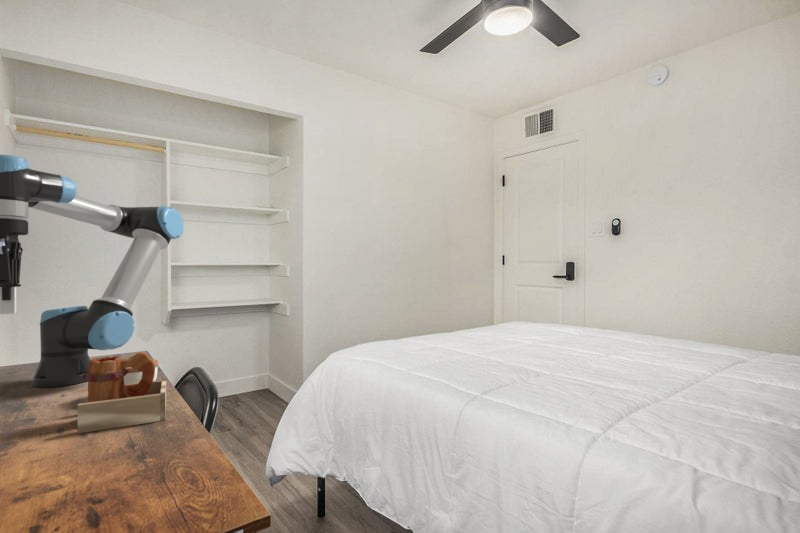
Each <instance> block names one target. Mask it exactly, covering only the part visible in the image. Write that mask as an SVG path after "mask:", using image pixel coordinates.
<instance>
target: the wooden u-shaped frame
mask: <svg viewBox="0 0 800 533" xmlns="http://www.w3.org/2000/svg"><path fill="white" fill-rule="evenodd" d="M138 383H139V382H138ZM138 383H130V384H125V385H130V386H134V385H137V384H138ZM125 396H127V397H128V398H120V399H113V400H105V401H97V402H89V403H88V402H82V403H78V404H77V434H83V433H90V432H95V431H96V432H97V431H103V430H109V429H117V428H122V427H128V426H135V425H141V424H142V425H143V424H150V423H156V422H161V421H165V420H166V411H167V379H158V380H157V379H156V381H153V382H152V385H151V387H150V388H149V389H148V391H147V392H146V393H145V394H144V395H143V396H136V397H133V396H131V395H128V394H126V393H125Z"/></svg>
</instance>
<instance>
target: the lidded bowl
mask: <svg viewBox="0 0 800 533" xmlns="http://www.w3.org/2000/svg"><path fill="white" fill-rule="evenodd" d="M132 356H133V355H130V356H129V357H128V358H131V357H132ZM151 359H152V360H153V362H154V365H155V375H154V379H153V381H156V380H157V378H158V372H159V371H158V366H159V361H158V359H155V358H151ZM126 369H127V370H128V371H129V372H128V373H127V374H126V375H125V376H124V384H130V383H138V382H140V380H141V378H142V371H139V370H137V369H134V368H132V367H128V368H126Z"/></svg>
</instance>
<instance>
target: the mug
mask: <svg viewBox="0 0 800 533" xmlns="http://www.w3.org/2000/svg"><path fill="white" fill-rule="evenodd" d="M131 356H132V357H131V358H129V357H128V358H123V359H122V357H120V356H118V355H117V356H112V357H110V356H106V357H101V358H99V357H98V358H92V359H90V361H89V371H88V372H87V373H86V374H84V375H83V377H82V378H83V379H86V382H88V384H87V403H89V402H97V401H105V400H113V399H120V398H128V397H127V396H125V393H126V394H128V395H131V396H133V397H136V396H143V395H144V394H145V393H146V392H147V391H148V389H149V388H150V387H151V385H152V382H153V379H154V375H155V365H154V362H153V360H152V359H153V358H152V357H151V356H149V355H148V353H146V352H144V351H139V352H136V353H135V354H134V355H131ZM128 367H132V368H134V369H137V370H139V371H142V378H141V380H140V382H139V383H138V384H137V385H134V386H130V385H125V384H124V376H125V375H126V374H127V373H128V372H129V371H128V370H127V369H126V368H128Z"/></svg>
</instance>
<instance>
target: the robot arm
mask: <svg viewBox="0 0 800 533" xmlns="http://www.w3.org/2000/svg"><path fill="white" fill-rule="evenodd" d="M77 193H78V192H77V184H76V182H75V181H74V180H73V179H72V178H70V177H67V176H64V175H61V174H54V173H51V172H45V171H39V170H36V169H31V168H30V166H29V162H28V160H27V159H25V158H23V157H21V156H17V155H10V154H0V315H8V314H17V312H18V311H17V310H18V309H17V304H18V303H17V302H18V301H17V287H18V288H19V287H21V286H22V284H21V283H20V280H21V279H20V277H21V267H22V265H21V264H22V263H21V262H22V256H23V251H24V250H23V247H22V243H21V242H19V241H20V240H19V236H26V235H29V221H28V220H26V219H28V218H29V208H30V209H34V210H37V211H41V212H46V213H49V214H53V215H56V216H59V217H60V216H61V217H64V218H68V219H71V220H75V221H79V222H83V223H87V224H90V225H93V226H97V227H100V228H101V229H102V231H104V232H109V233H113V234H115V235H119V236H123V237H127V238H131V239H133V240H132V242H131V245H130V246H129V247H128V250H127V251H126V254H124V256H123V259H122V261H121V262H120V264H119V266H118V267H117V269H116V271H115V272H114V275H113V277H112V278H111V280H110V282H109V283H108V286H107V287H106V289H105V290H104V292H103V294H102V296H101V297H100V298H96V299H93V301H92V302H91V303H90V305H89V306H86V305H79V306H69V307H61V308H54V309H53V308H52V309H46V310H44V311H43V312H41V314H40V322H39V325H40V328H39V329H40V330H39V332H40V333H39V334H40V359H39V362H38V365H37V367H36V370H35V373H34V375H33V377H32V378H33V379H32V385H33V387H36V388H57V387H65V386H66V387H67V386H72V385H76V384H81V383H85V382H87V381H86V379H83V378H82V377H83V375H84V374H86V373H87V372H88V371H89V361H90V360H91V358H90V356H89V350H97V351H108V350H115V349H119V348H121V347H123V346H125V344H127V343H128V342H129V341H130V339H131V338H132V336H133V334H134V332H135V326H134V324H135V320H134V318H133V315H134V311H133V310H132V306H133V304H134V302H135V300H136V298H137V296H138V294H139V292H140V290H141V288H142V286H143V284H144V283H145V281H146V279H147V277H148V275H149V273H150V271H151V269H152V267H153V264H154V263H155V261H156V259H157V257H158V254H160V252H161V250H164V249H167V248H168V246H169V245H170V242H171V240H176V239H178V238H180V237H181V236H182V235H183V231H184V221H183V217H182V215H181V214H180V212H179V210H177V209H176V208H174V207H172V206H167V205H166V206H165V205H160V206H136V207H135V206H133V207H132V206H131V207H129V206H127V207H126V206H119V205H115V204H107V205H106V204H103V203H100V202H97V201H94V200H91V199H88V198H84V197H82V196H80V195H77Z"/></svg>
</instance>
